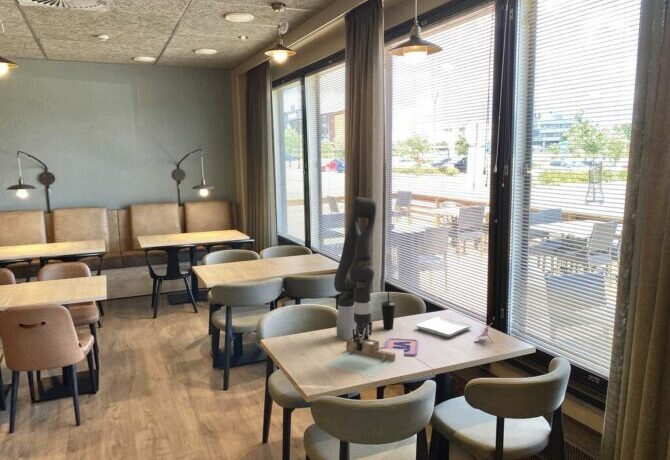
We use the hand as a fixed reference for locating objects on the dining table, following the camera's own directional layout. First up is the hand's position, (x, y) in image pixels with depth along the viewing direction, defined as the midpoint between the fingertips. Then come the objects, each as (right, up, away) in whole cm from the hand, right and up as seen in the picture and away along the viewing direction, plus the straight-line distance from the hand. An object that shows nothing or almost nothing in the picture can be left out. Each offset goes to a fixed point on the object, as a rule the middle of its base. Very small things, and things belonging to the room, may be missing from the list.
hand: (362, 348), depth 224 cm
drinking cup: (+16, 0, +45) cm, 48 cm away
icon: (+17, -5, +19) cm, 26 cm away
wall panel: (-1, -7, 0) cm, 7 cm away
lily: (+61, -3, +25) cm, 66 cm away
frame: (0, -1, 0) cm, 0 cm away
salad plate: (+44, -1, +42) cm, 61 cm away
